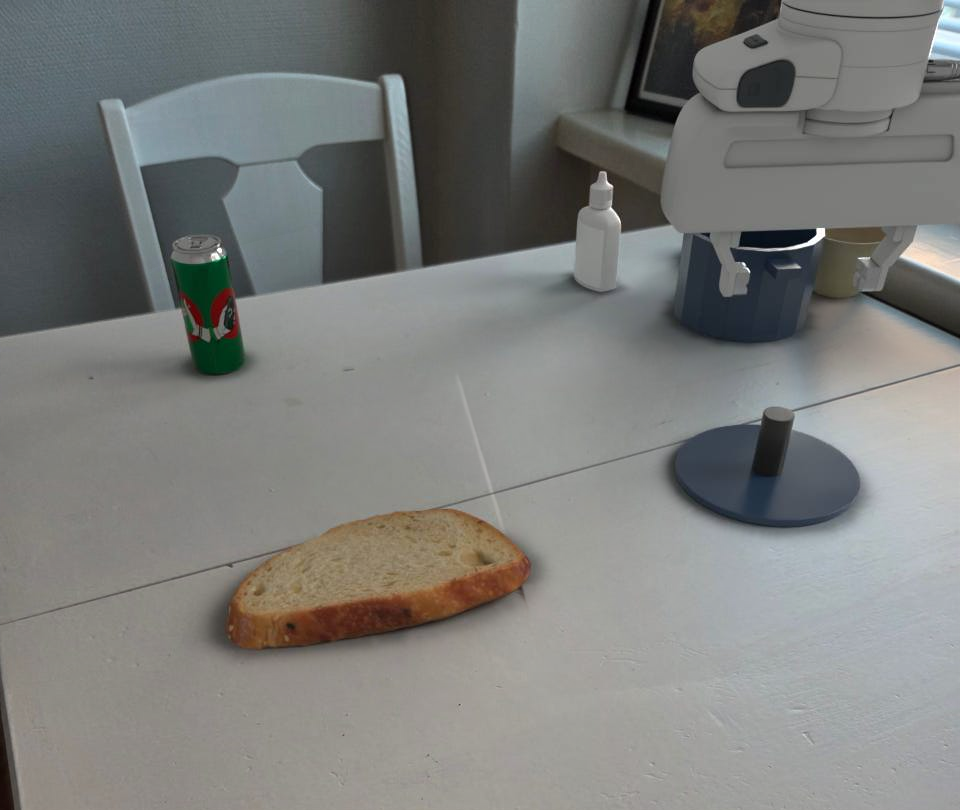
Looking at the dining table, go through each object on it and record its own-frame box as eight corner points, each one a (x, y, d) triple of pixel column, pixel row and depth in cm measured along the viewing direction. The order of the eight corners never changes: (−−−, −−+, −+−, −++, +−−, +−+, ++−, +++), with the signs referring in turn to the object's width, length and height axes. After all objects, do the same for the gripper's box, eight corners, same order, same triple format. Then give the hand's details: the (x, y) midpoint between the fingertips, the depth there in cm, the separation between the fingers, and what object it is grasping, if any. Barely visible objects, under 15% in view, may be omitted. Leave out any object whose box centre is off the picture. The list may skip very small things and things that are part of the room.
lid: (812, 430, 87) (829, 364, 83) (888, 524, 76) (911, 454, 72) (652, 443, 85) (661, 377, 81) (707, 541, 74) (720, 471, 70)
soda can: (248, 354, 98) (227, 231, 90) (245, 377, 94) (223, 251, 86) (196, 356, 98) (171, 233, 90) (191, 380, 94) (164, 254, 86)
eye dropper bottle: (577, 295, 109) (585, 180, 101) (572, 275, 113) (579, 164, 105) (617, 294, 109) (627, 180, 101) (610, 275, 113) (619, 163, 105)
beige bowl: (787, 305, 107) (801, 237, 102) (788, 270, 114) (801, 206, 109) (883, 313, 105) (902, 245, 100) (878, 278, 112) (895, 213, 108)
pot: (766, 279, 112) (783, 192, 106) (836, 352, 98) (860, 256, 92) (651, 286, 111) (661, 198, 104) (705, 362, 97) (720, 265, 90)
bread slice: (203, 638, 66) (192, 595, 64) (338, 501, 78) (334, 461, 76) (443, 716, 61) (441, 673, 58) (548, 557, 73) (550, 515, 70)
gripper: (993, 46, 61) (927, 267, 70) (669, 54, 60) (645, 278, 69) (1044, 69, 56) (967, 303, 66) (693, 78, 55) (664, 315, 65)
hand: (799, 291), depth 67 cm, fingers open, 8 cm apart
